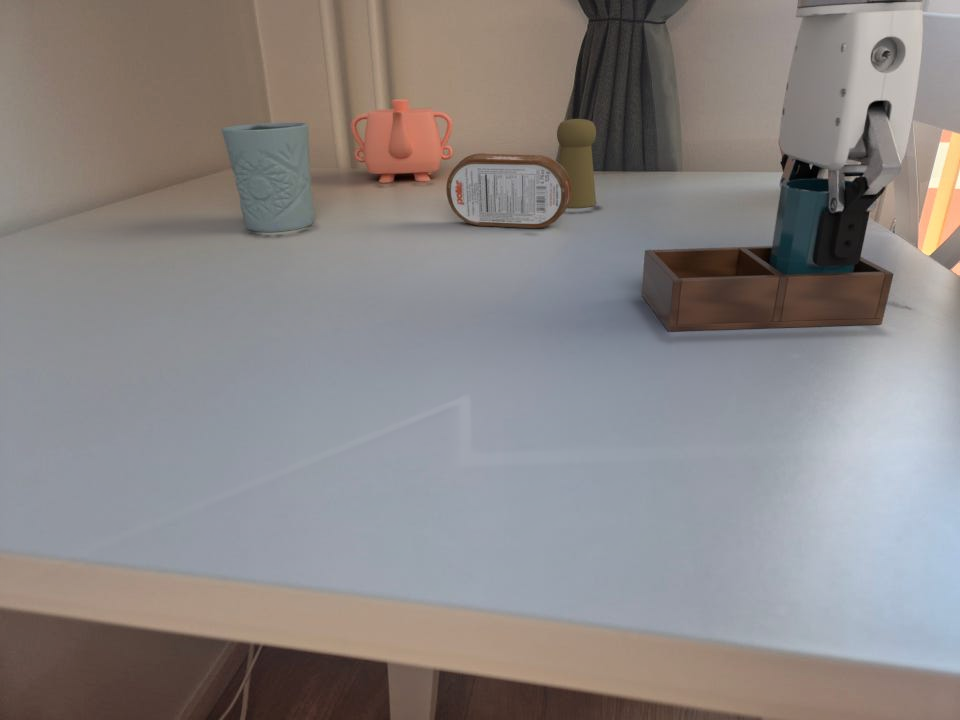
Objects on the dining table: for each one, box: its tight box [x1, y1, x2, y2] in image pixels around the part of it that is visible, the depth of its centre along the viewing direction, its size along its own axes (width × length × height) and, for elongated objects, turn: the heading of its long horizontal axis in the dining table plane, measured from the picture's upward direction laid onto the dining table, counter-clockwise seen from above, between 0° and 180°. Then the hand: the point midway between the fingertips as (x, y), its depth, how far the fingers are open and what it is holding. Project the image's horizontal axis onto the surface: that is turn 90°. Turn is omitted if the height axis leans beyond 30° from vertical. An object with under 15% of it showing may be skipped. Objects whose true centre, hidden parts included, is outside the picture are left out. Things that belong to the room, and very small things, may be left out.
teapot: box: [350, 98, 454, 184], centre depth 114 cm, size 15×17×13 cm
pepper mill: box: [556, 118, 597, 209], centre depth 91 cm, size 6×6×11 cm
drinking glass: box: [221, 122, 315, 233], centre depth 84 cm, size 10×10×12 cm
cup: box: [769, 177, 855, 275], centre depth 52 cm, size 6×6×8 cm
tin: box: [445, 152, 571, 229], centre depth 81 cm, size 15×3×8 cm, turn 74°
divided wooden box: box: [640, 245, 894, 332], centre depth 54 cm, size 16×8×4 cm, turn 91°
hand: (813, 249), depth 53 cm, fingers closed on cup, 6 cm apart
